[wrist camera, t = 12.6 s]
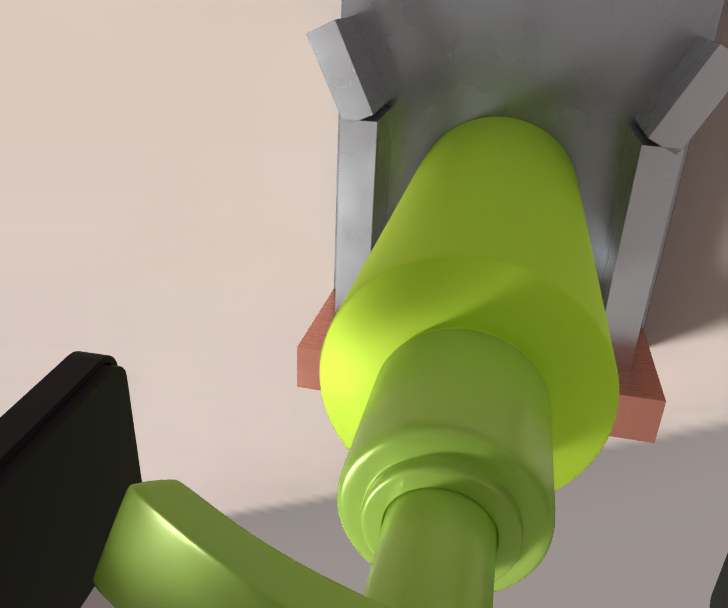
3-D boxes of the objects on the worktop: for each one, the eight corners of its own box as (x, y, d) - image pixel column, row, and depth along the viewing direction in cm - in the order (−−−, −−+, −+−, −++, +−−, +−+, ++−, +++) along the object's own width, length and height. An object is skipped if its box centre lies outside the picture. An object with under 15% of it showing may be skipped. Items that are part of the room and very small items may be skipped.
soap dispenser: (434, 71, 24) (157, 373, 6) (612, 166, 24) (838, 730, 6) (363, 215, 27) (32, 704, 9) (523, 299, 27) (504, 946, 9)
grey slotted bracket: (343, -197, 22) (283, -251, 17) (777, -194, 20) (867, -256, 14) (330, 312, 30) (287, 384, 25) (640, 354, 28) (666, 444, 22)
